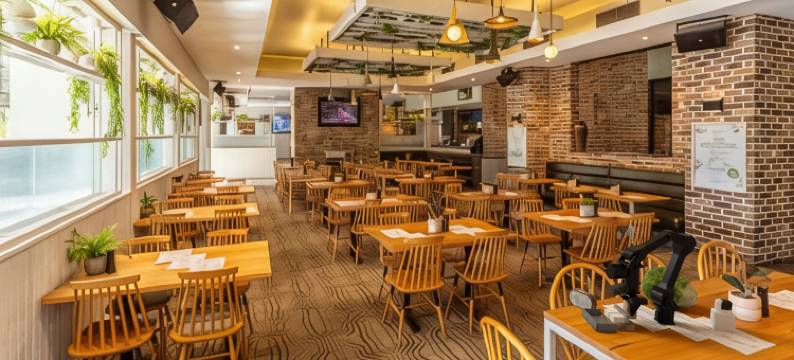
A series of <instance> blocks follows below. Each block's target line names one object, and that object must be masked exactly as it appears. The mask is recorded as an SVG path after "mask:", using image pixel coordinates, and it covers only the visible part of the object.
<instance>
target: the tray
mask: <svg viewBox="0 0 794 360" xmlns="http://www.w3.org/2000/svg"><path fill="white" fill-rule="evenodd" d="M581 316H582V318H583V319H584V320H585V321H586V322H587V323H588V324H589V326H591V328H592V329H594V331H595V332H596V333H598V332H599V333H617V324H616V323H608V322H607V321H606V320H605V319H604V318H603V315H602V308H598V307H596V308H582V309H581Z"/></svg>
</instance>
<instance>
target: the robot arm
mask: <svg viewBox="0 0 794 360" xmlns="http://www.w3.org/2000/svg"><path fill="white" fill-rule="evenodd" d="M670 242H672V244H671V246H672V254H671V257H670V259H669V261H668V264H667V266H666V267H667V269H666V271H665V274H664V276H663V279H662V281H661V283H660V284H659V285H654V286H653V289H652V291H651V292H650V293H651V299H652V301H653V302H652V301H651V302H652V303H653V306H655V310H654V318H653V320H654V321H656V323H658V324H659V325H667V326H668V325H670V326H674V325H675V326H676V324H677V323H676V322H675V312H678V310H679V309H680V307H679V306H678V305H677V304H676V303H675V302H674V301H673V300H674V296H675V295H674V289H673V288H674V285H675V283H676V280H677V278H678V275H679V273H680V272H681V270H682V267H683V265H684V262H685V260H686V258H687V257H688V255H690V254H691V253H693V251H694V249H695V248H696V246H697V240H696V238H695V237H694V236H693V235H689V234H685V233H682V232H679V233H677V232H676V231H673V230H669V229H664V230H662V231H661V232H660V233H658V234H656V235H654V236H653V237H650V238H649V239H647V240H646V241H643V242H642V243H640V244H639V243H638V244H635V245H630V246H628V247H625V248H624V249H623V250H622V251H623V252H622V253H621V255H620V256H619V257H618V258H617V261H616V262H609V265H607V267H606V269H605V273H606V276H607V278H608V279H609V280H620V282H616V283H614V284H611V285H609V286H608V288H609V290H610V294H611V295H612V296H613V297H618V296H619V297H620V298H621V299H622V301H623V300H626V301H627V302H628V303H629V307H630V316H634V314H635V313H636V311H637V312H638V309H639V308H640V307H641V306H647V305H649V299H648V298H647V297H646V296H645V295H643V294H642V295H641V291H640V290H639V286H640V285H641V286H642V281H640V270H641V269H645V265H644V264H642V262H643V261H644V260H646V259H647V257H648V255H649V254H651V253H652V252H654V251H656V250H658V249H659V248H661V247H662V246H664V245H667V244H668V243H670ZM680 274H681V273H680Z"/></svg>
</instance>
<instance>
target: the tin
mask: <svg viewBox="0 0 794 360" xmlns="http://www.w3.org/2000/svg"><path fill="white" fill-rule="evenodd" d="M568 296H569V300H570V302H571V304H572V305H573V306H575V307H577V308H579V309H581V310H582V308H598V304H597V300H596V297H595V295H594V294H593V293H591V292H589V291H586V290H585V289H583V288H582V289H581V288H579V287H576V288H572V289H570V291H569V295H568Z"/></svg>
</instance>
